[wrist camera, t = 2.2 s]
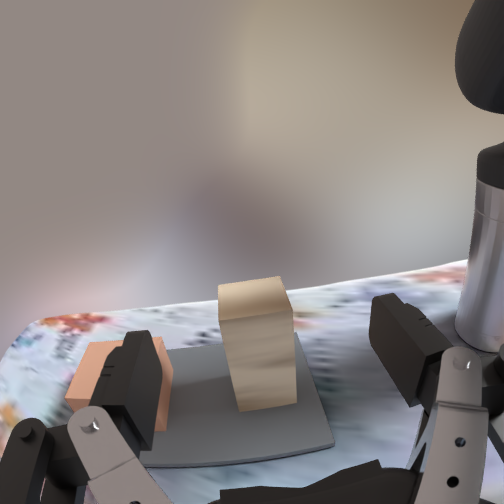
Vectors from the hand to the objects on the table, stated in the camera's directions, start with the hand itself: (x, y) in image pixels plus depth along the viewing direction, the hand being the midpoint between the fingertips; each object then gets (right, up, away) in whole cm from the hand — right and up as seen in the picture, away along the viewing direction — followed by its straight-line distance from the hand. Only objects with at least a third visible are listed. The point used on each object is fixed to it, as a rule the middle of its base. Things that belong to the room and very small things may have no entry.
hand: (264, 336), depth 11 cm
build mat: (-6, -11, +16) cm, 21 cm away
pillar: (+1, -9, +16) cm, 19 cm away
